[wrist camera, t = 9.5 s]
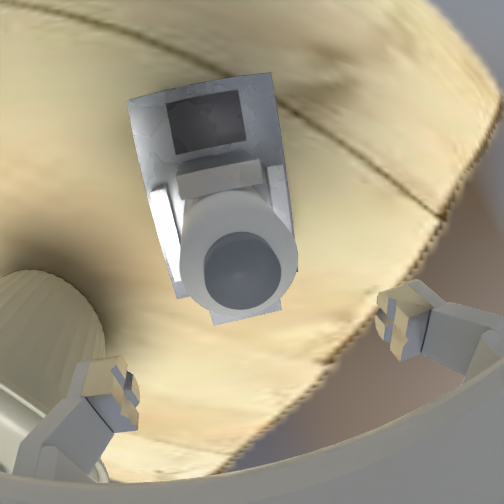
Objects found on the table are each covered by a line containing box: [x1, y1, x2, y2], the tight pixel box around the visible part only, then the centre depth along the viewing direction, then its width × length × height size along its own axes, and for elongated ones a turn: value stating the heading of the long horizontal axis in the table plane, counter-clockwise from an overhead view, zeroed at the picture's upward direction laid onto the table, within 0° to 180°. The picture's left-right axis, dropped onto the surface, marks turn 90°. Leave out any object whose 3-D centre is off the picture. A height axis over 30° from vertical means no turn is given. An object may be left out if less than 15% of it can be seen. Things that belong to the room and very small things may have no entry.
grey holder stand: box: [126, 72, 298, 325], centre depth 20 cm, size 14×9×11 cm, turn 9°
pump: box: [179, 186, 298, 316], centre depth 16 cm, size 5×5×9 cm
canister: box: [0, 270, 109, 483], centre depth 18 cm, size 18×18×21 cm
